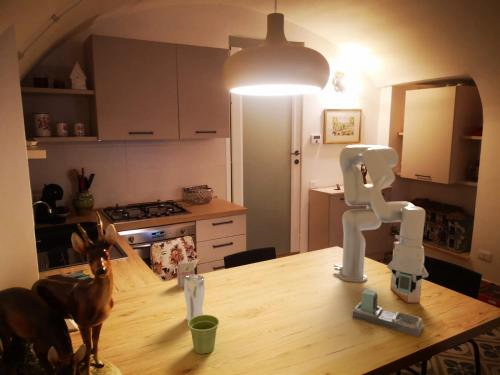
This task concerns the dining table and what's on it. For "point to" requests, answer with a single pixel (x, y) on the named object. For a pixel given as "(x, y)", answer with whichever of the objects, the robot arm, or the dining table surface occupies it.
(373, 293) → the teal rectangular block
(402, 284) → the pale teal block
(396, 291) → the cracker box
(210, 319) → the plant pot
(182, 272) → the tea bag
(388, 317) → the grey compartment tray
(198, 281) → the beer glass
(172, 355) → the dining table surface
